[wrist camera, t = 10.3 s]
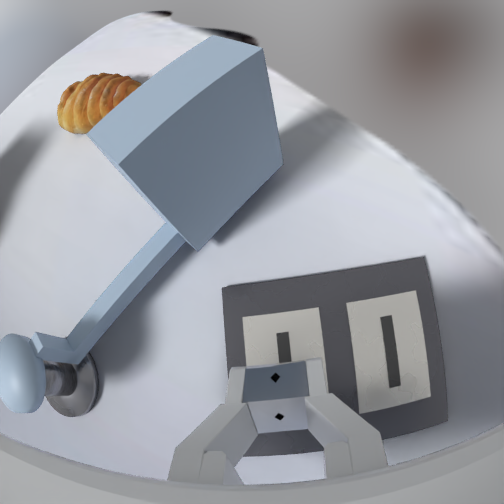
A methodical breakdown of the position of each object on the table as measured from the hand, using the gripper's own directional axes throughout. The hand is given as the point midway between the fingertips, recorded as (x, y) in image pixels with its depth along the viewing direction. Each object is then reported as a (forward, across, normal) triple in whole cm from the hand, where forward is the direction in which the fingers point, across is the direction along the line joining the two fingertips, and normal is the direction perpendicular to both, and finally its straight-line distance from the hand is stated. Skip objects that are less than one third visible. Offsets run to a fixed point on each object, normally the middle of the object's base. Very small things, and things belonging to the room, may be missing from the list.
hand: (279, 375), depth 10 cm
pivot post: (+3, +14, +4) cm, 15 cm away
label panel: (+4, -3, +3) cm, 6 cm away
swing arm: (+7, +8, -1) cm, 10 cm away
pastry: (+21, +14, -13) cm, 28 cm away
